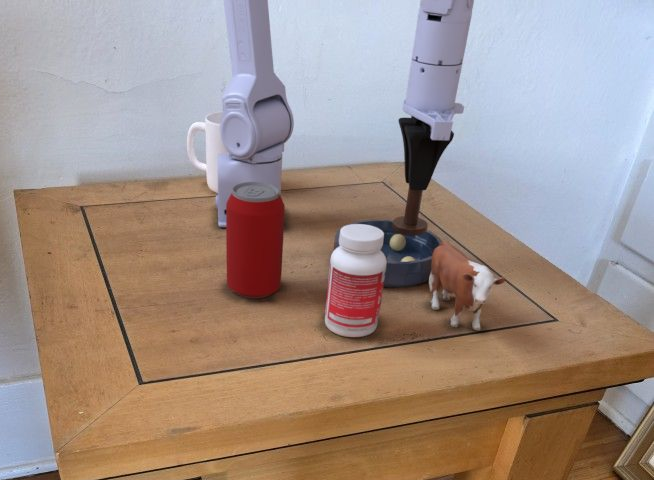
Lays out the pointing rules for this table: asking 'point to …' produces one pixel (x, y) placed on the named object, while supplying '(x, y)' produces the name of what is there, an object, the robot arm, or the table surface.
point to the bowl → (403, 254)
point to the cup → (208, 147)
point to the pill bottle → (356, 281)
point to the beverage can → (254, 239)
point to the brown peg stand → (411, 216)
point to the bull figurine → (460, 282)
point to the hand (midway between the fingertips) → (415, 186)
